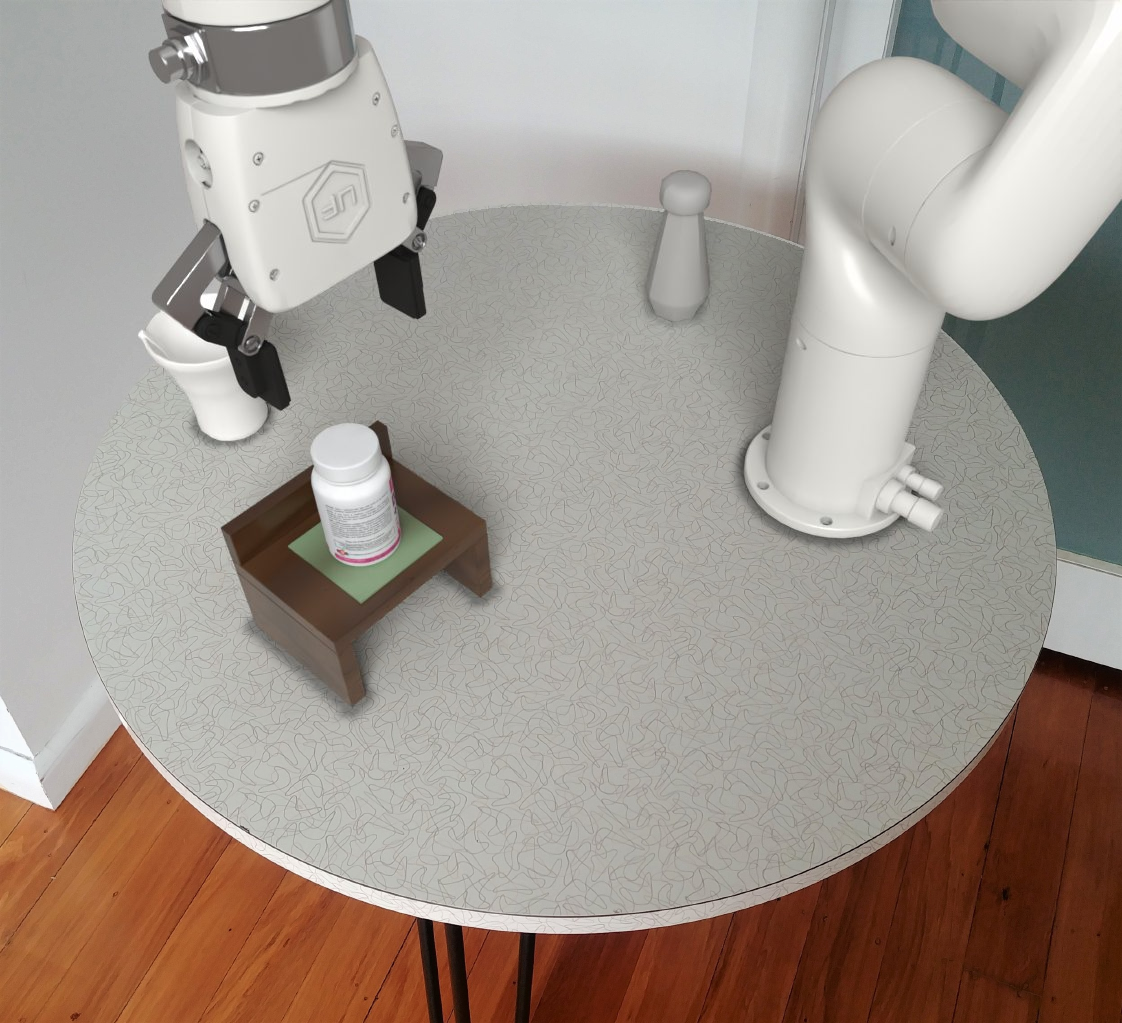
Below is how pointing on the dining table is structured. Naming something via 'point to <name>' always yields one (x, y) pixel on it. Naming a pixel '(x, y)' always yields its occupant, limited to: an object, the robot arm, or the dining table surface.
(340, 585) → the shelf
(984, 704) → the dining table surface
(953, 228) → the robot arm
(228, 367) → the cup
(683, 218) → the salt shaker
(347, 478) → the pill bottle
